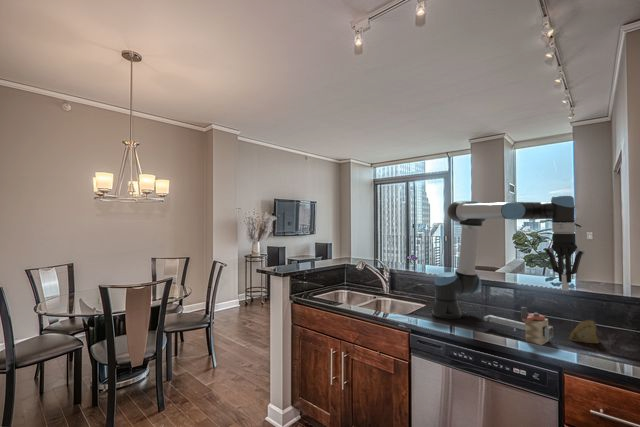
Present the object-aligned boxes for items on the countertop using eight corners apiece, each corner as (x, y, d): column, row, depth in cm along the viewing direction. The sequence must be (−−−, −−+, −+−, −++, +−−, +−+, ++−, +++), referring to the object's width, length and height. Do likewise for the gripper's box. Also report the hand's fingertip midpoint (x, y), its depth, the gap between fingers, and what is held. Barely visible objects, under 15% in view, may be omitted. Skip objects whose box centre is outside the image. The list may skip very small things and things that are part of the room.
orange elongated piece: (534, 315, 141) (533, 303, 141) (548, 319, 136) (547, 306, 136) (515, 319, 136) (515, 306, 137) (529, 323, 131) (529, 309, 131)
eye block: (525, 340, 137) (524, 319, 137) (533, 336, 142) (532, 315, 142) (541, 345, 132) (540, 322, 132) (548, 340, 137) (548, 319, 137)
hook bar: (483, 323, 153) (483, 314, 153) (489, 320, 157) (489, 311, 157) (548, 339, 131) (548, 329, 131) (554, 336, 134) (553, 326, 134)
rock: (566, 336, 135) (596, 339, 128) (565, 317, 140) (594, 319, 133) (572, 346, 141) (601, 349, 134) (571, 328, 145) (599, 330, 138)
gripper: (541, 233, 133) (543, 288, 132) (580, 233, 122) (582, 294, 121) (548, 232, 137) (550, 286, 136) (586, 233, 126) (588, 291, 126)
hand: (565, 290), depth 129 cm, fingers closed
